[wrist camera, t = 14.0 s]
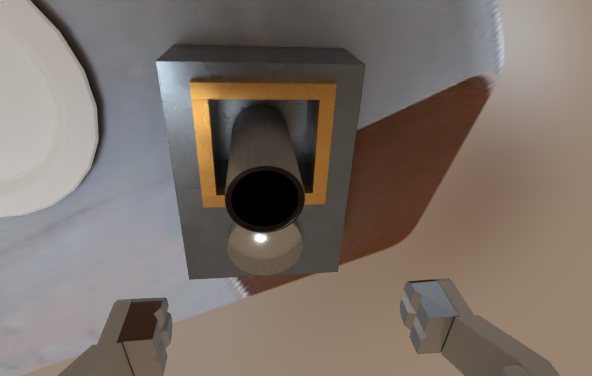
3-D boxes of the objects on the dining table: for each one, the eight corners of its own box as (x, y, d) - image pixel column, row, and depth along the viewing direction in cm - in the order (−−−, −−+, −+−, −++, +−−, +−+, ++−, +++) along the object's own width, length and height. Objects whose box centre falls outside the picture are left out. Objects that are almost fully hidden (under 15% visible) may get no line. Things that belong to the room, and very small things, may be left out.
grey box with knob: (173, 44, 27) (152, 64, 21) (344, 48, 28) (369, 68, 22) (197, 235, 36) (187, 288, 30) (325, 231, 37) (340, 279, 31)
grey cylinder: (297, 117, 29) (318, 181, 20) (275, 164, 31) (286, 242, 22) (242, 96, 27) (240, 154, 18) (224, 147, 29) (213, 222, 20)
